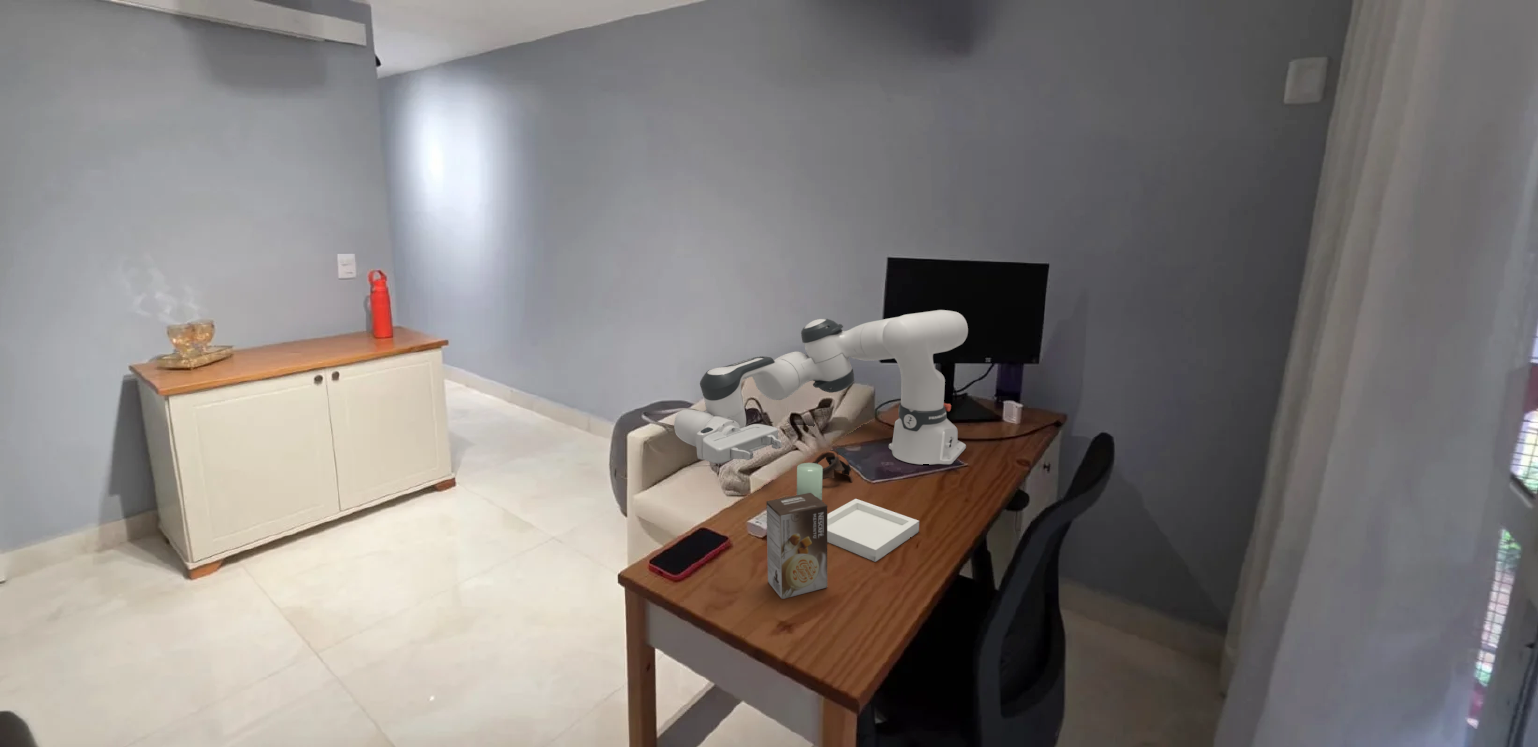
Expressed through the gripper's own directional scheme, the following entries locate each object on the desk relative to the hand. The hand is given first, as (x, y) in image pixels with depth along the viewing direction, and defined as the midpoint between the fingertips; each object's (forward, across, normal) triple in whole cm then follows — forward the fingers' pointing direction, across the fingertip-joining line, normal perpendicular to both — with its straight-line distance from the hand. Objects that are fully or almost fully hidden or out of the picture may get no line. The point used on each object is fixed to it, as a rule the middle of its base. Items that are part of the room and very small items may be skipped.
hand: (765, 450), depth 151 cm
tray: (+26, -2, -12) cm, 29 cm away
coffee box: (+28, +22, -12) cm, 38 cm away
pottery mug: (+4, -20, -12) cm, 24 cm away
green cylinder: (+12, -1, -12) cm, 17 cm away
